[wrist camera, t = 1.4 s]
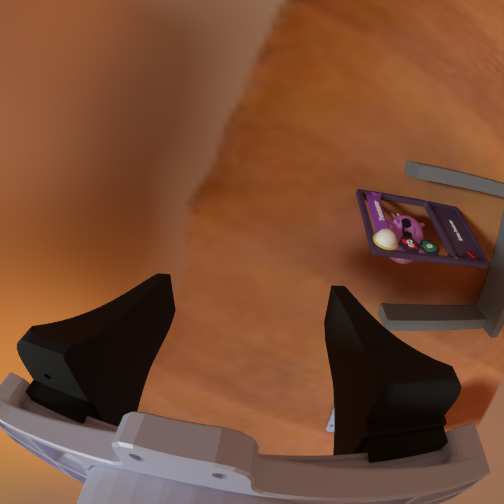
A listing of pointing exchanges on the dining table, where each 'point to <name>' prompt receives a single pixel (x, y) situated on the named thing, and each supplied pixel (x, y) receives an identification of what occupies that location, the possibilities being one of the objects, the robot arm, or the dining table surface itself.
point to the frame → (495, 287)
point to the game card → (419, 233)
